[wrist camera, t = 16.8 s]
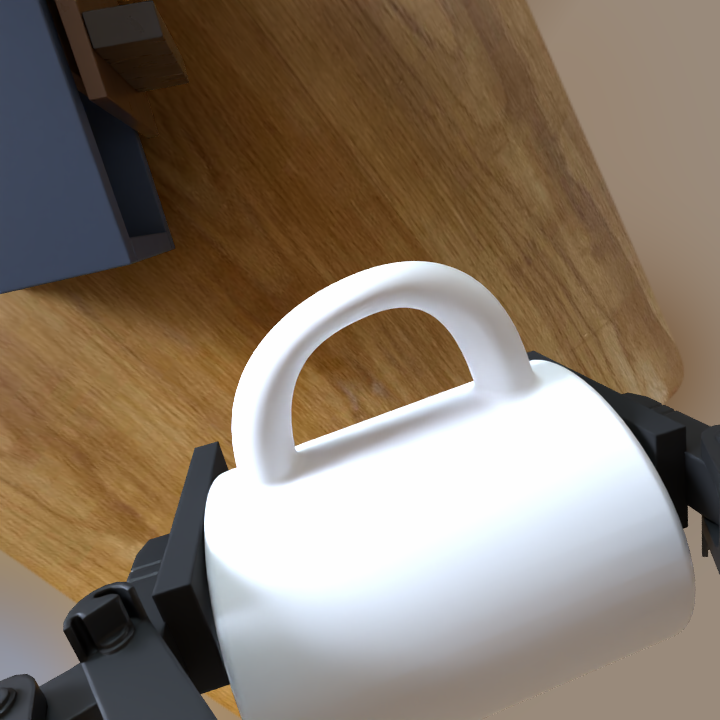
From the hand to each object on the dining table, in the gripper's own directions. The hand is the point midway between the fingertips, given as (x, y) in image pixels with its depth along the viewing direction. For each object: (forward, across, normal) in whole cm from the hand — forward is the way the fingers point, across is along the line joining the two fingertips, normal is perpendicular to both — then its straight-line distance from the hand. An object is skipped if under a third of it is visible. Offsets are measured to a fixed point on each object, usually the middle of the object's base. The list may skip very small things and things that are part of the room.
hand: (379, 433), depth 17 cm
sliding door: (+22, -6, +18) cm, 29 cm away
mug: (0, 0, 0) cm, 0 cm away
